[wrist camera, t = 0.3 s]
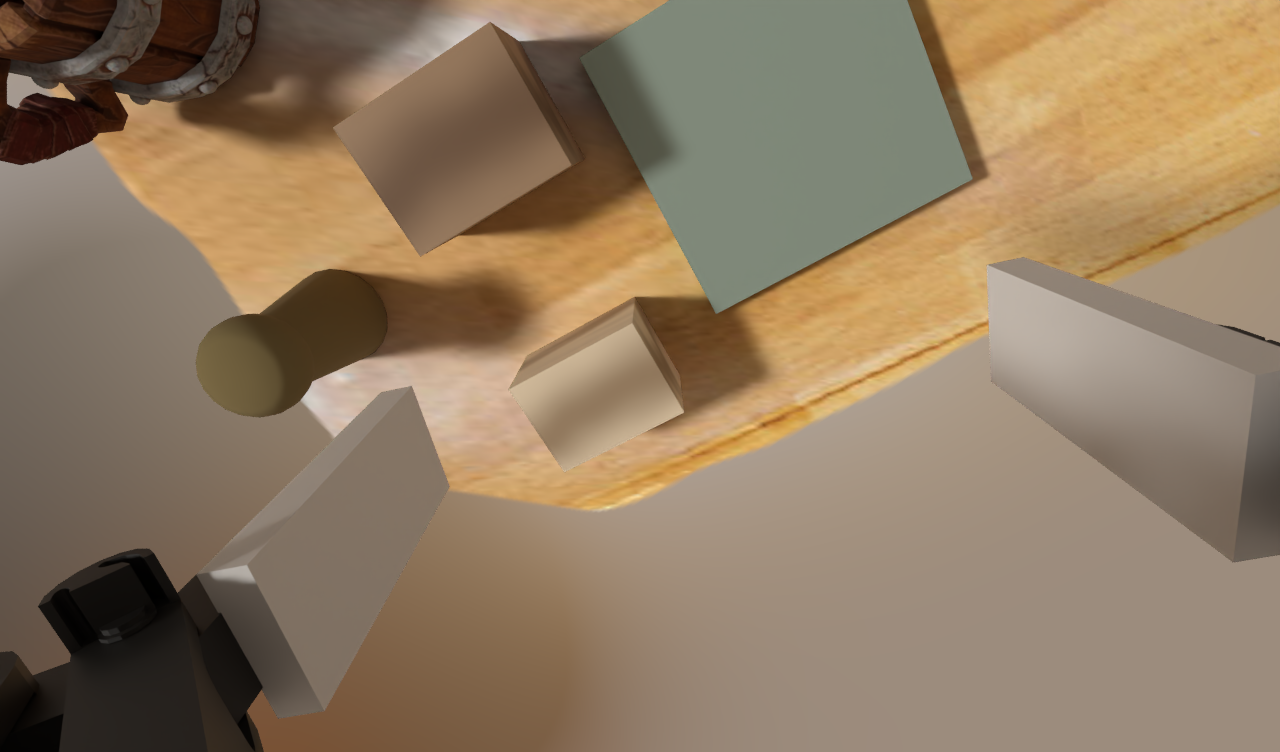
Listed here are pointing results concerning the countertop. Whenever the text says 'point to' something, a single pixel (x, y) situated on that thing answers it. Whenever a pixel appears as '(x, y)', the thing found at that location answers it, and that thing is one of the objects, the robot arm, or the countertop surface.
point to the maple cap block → (598, 386)
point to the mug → (111, 63)
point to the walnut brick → (460, 138)
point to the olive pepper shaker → (291, 343)
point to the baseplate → (777, 128)
